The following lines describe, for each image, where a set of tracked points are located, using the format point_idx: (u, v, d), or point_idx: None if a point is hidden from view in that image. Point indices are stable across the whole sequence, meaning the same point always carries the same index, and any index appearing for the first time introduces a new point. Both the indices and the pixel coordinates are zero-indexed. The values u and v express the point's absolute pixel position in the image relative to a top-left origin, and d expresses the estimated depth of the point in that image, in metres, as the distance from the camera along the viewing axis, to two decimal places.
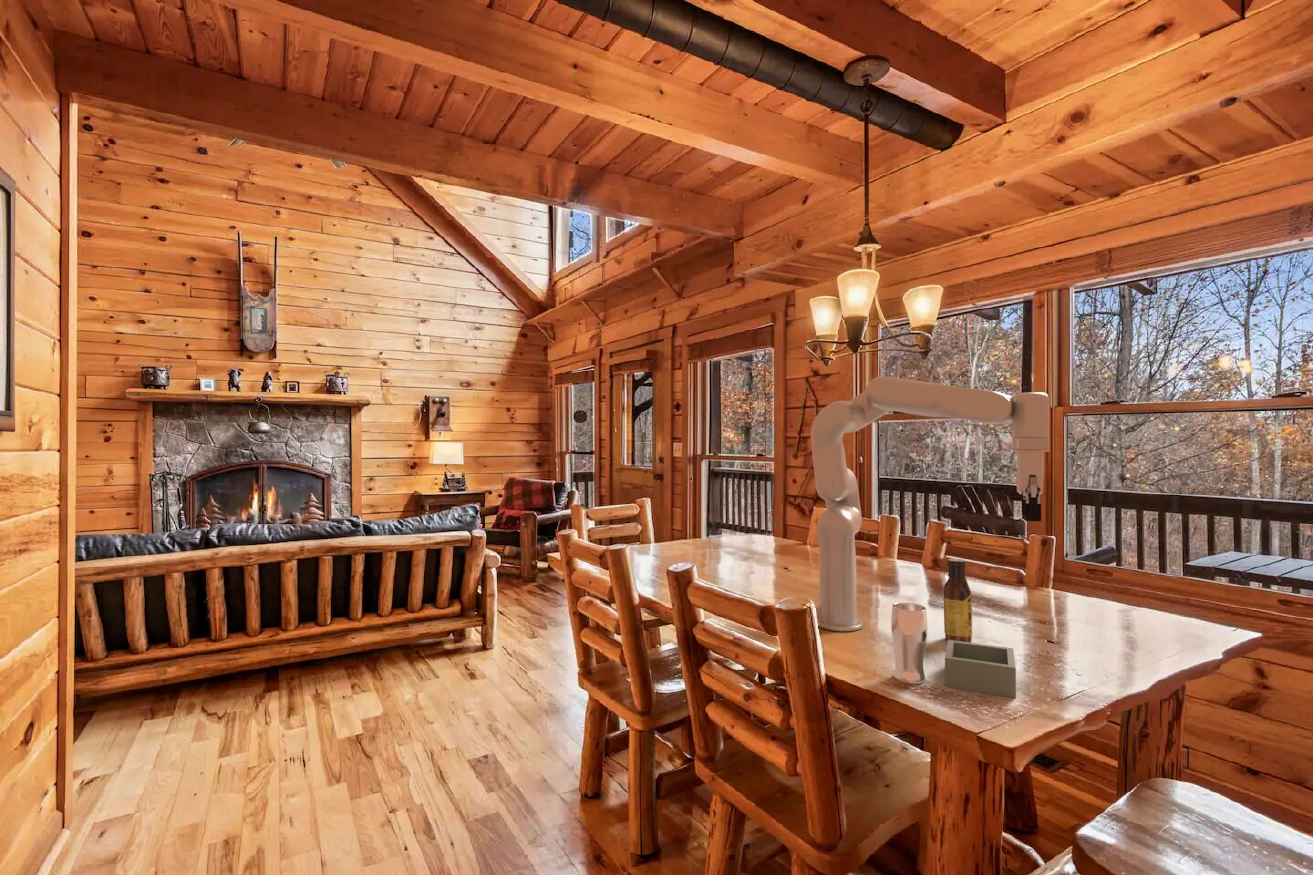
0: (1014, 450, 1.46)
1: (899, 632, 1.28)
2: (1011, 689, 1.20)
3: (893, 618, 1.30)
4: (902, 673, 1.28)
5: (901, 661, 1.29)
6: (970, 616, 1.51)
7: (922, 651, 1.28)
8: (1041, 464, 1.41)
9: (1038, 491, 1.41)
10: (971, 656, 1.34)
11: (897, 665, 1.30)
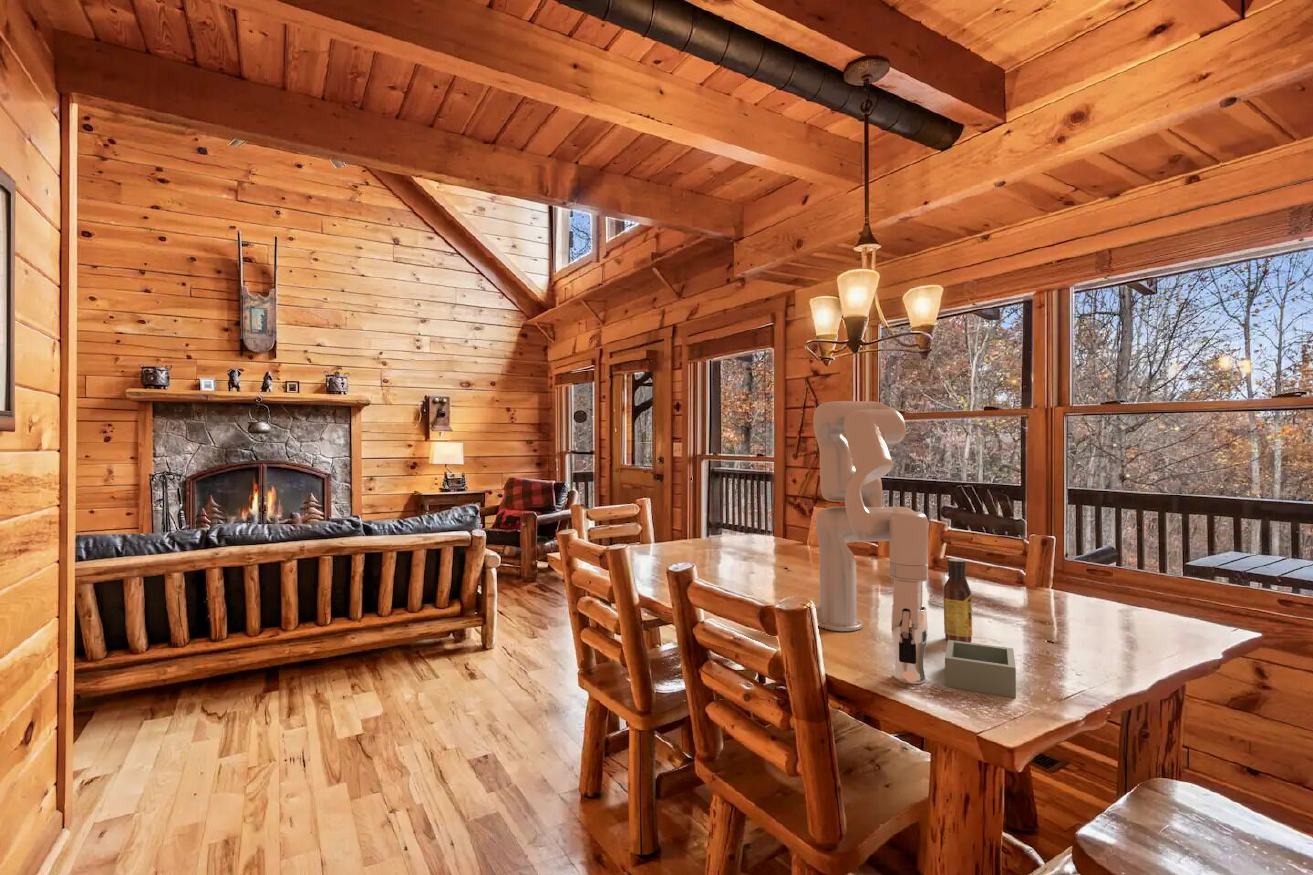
0: (890, 576, 1.30)
1: None
2: (1011, 689, 1.20)
3: None
4: (902, 673, 1.28)
5: None
6: (970, 616, 1.51)
7: (922, 651, 1.28)
8: (916, 597, 1.25)
9: (913, 629, 1.26)
10: (971, 656, 1.34)
11: (897, 665, 1.30)
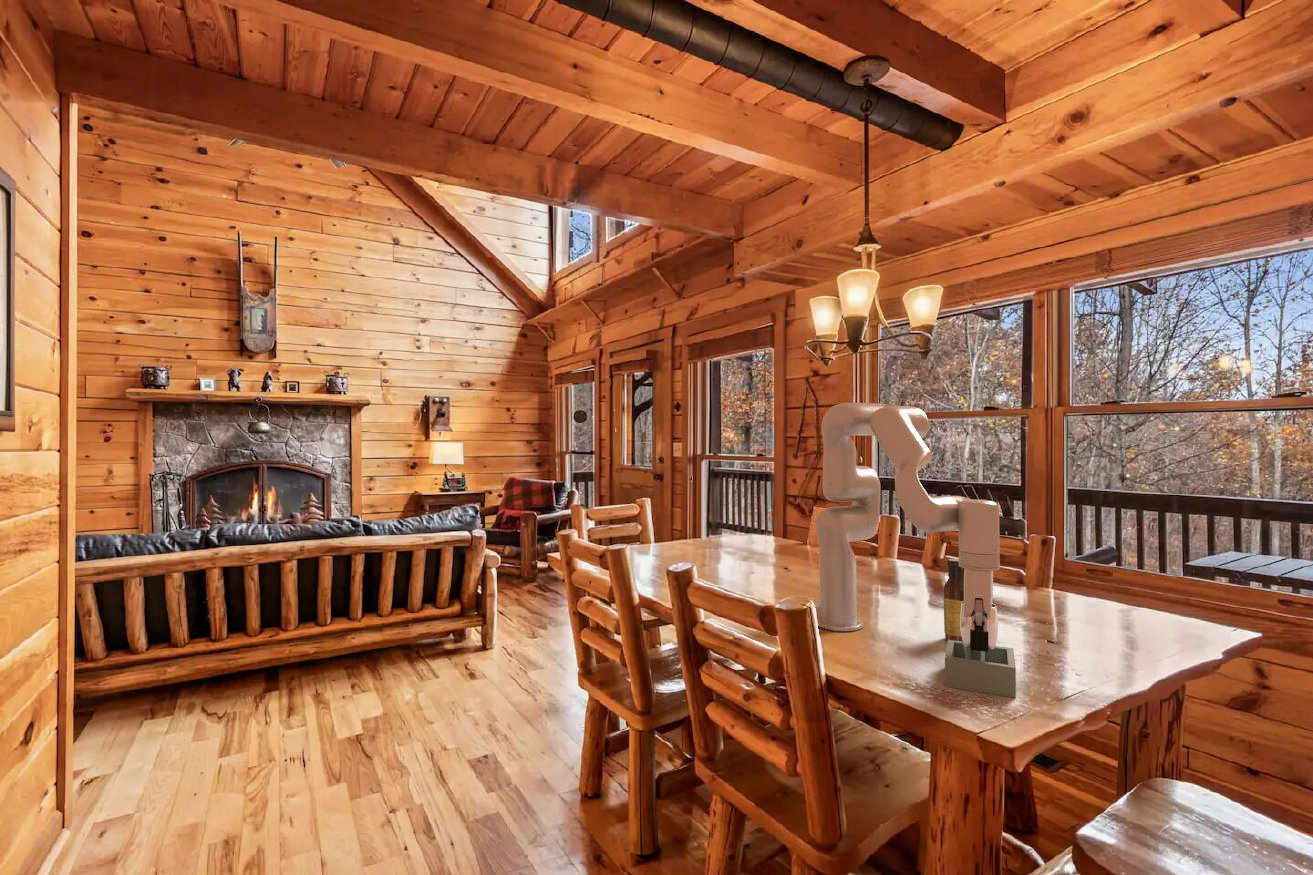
0: (960, 565, 1.29)
1: None
2: (1011, 689, 1.20)
3: (962, 615, 1.28)
4: None
5: (971, 659, 1.27)
6: None
7: (993, 649, 1.26)
8: (989, 586, 1.24)
9: (985, 616, 1.24)
10: None
11: None
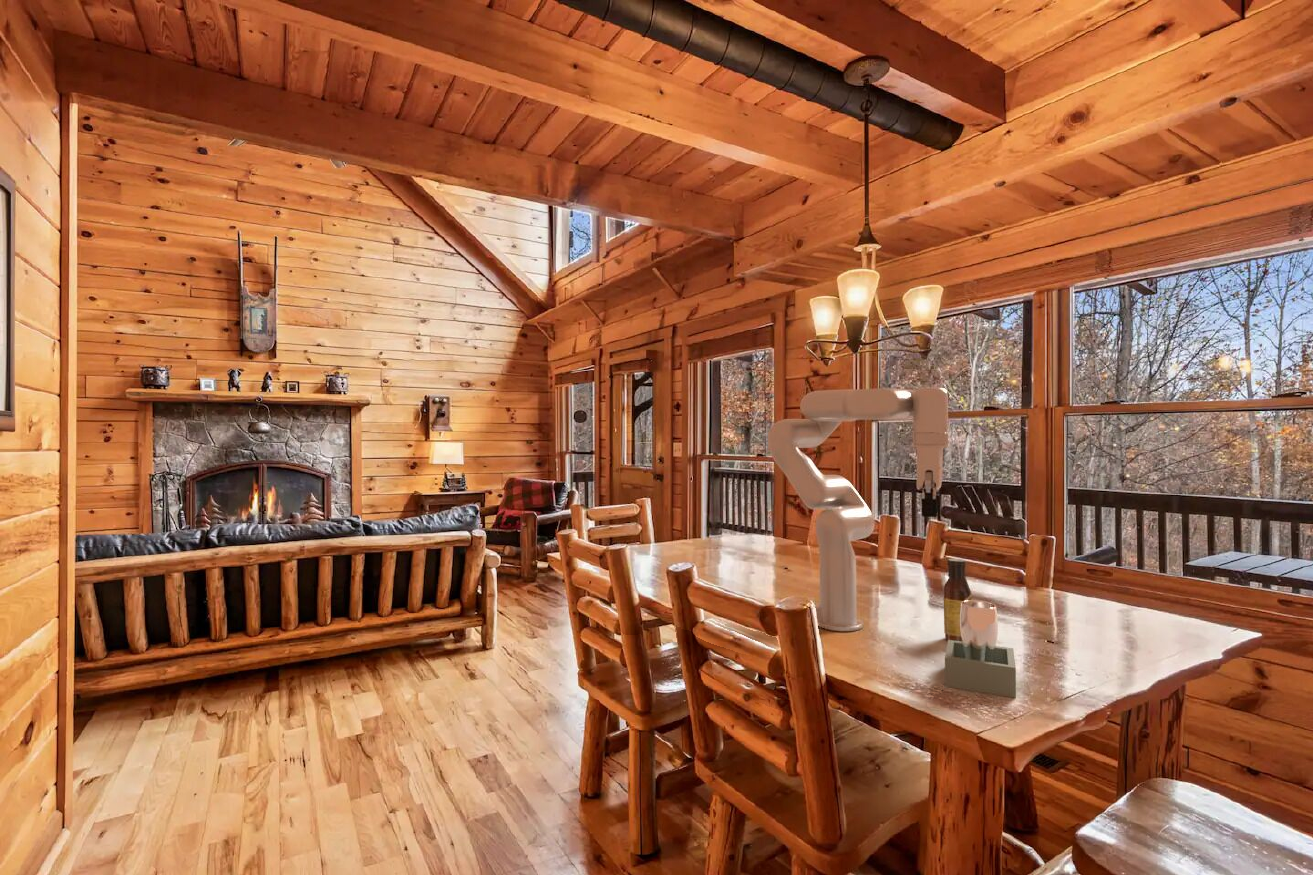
0: (914, 445, 1.46)
1: (970, 630, 1.27)
2: (1011, 689, 1.20)
3: (962, 615, 1.28)
4: None
5: (971, 659, 1.27)
6: None
7: (993, 649, 1.26)
8: (937, 459, 1.41)
9: (934, 486, 1.41)
10: None
11: None
